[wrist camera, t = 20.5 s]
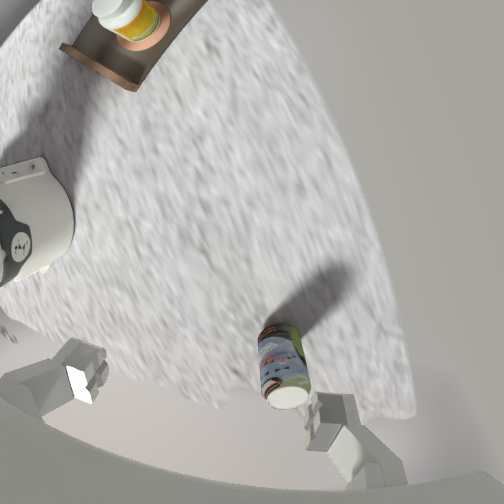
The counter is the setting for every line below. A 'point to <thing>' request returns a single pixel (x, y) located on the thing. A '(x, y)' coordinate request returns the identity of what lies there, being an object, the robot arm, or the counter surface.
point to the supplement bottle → (127, 18)
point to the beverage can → (283, 367)
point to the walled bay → (131, 44)
